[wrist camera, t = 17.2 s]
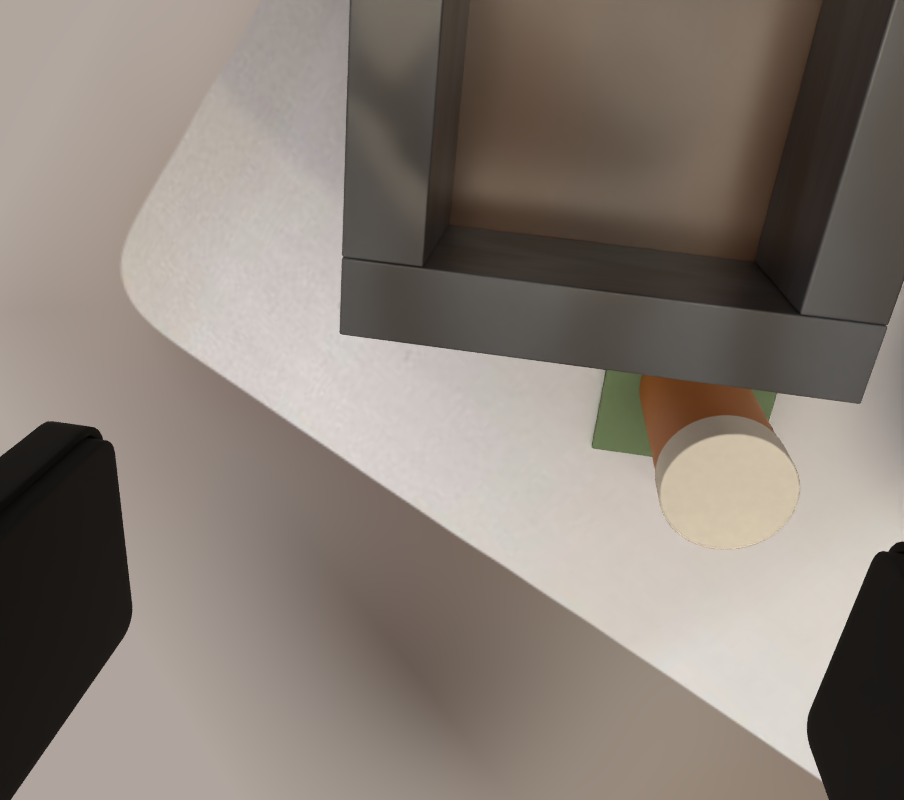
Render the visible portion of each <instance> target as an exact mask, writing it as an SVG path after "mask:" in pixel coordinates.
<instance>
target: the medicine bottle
mask: <svg viewBox="0 0 904 800" xmlns="http://www.w3.org/2000/svg"><path fill="white" fill-rule="evenodd" d="M639 394H640V401H641V405H642V410H643V415H644V420H645V424H646V429H647V434H648V439H649V444H650V448H651V453H652V458H653V463H654V467H655V481H656V487H657V492H658V497H659V502H660V506H661V509H662V513H663V515H664V517H665V519H666V520H667V522H668V523H669V525H670V526H671V527H672V528H673V529H674V530H675V531H676V532H677V533H678V534H680V535H681V536H682V537H684V538H685V539H687V540H689V541H691V542H693V543H695V544H697V545H701V546H704V547H708V548H713V549H738V548H743V547H748V546H751V545H754V544H757V543H759V542H761V541H763V540H765V539H767V538H769V537H770V536H772V535H773V534H775V533H776V532H777V531H778V530H780V529H781V528H782V527H783V526H784V525H785V524H786V522H787V521H788V520H789V519H790V517H791V515H792V514H793V512H794V510H795V508H796V505H797V502H798V498H799V493H800V482H799V476H798V472H797V470H796V468H795V465H794V464H793V462H792V460H791V458H790V456H789V454H788V452H787V451H786V449H785V447H784V445H783V444H782V442H781V440H780V439H779V438H778V437H777V436H776V434H775V433H774V431H773V429H772V427H771V425H770V423H769V422H768V420H767V418H766V416H765V414H764V412H763V410H762V408H761V406H760V405H759V403H758V401H757V399H756V397H755V395H754V393H753V391H752V390H751V389H745V388H738V387H730V386H723V385H715V384H708V383H700V382H693V381H685V380H678V379H670V378H663V377H656V376H648V375H642V378H641V381H640V387H639Z"/></svg>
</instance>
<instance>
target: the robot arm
mask: <svg viewBox="0 0 904 800" xmlns="http://www.w3.org/2000/svg"><path fill="white" fill-rule="evenodd" d="M131 617H132V600H131V590H130V582H129V573H128V565H127V555H126V547H125V538H124V529H123V520H122V511H121V502H120V493H119V485H118V476H117V467H116V459H115V451H114V447H113V445H112V444H111V443H110V442H109V441H106V440H103V438H102V435H101V433H100V432H99V430H98V429H96V428H94V427H89V426H81V425H75V424H68V423H61V422H53V421H52V422H46V423H44V424H42V425H40V426H39V427H38V428H36V429H35V430H34V431H33V432H31V433H30V434H29V435H28V436H26V437H25V438H24V439H23V440H21V441H20V442H19V443H17V444H16V445H15V446H14V447H12V448H11V449H10V450H8V451H7V452H6V453H5V454H3V455H2V456H1V457H0V800H11V799H12V797H13V795H14V794H15V793H16V791H17V790H18V788H19V787H20V786H21V784H22V783H23V781H24V780H25V778H26V777H27V776H28V774H29V773H30V771H31V770H32V768H33V767H34V766H35V764H36V762H37V761H38V760H39V758H40V757H41V755H42V754H43V752H44V751H45V749H46V748H47V747H48V745H49V744H50V743H51V741H52V740H53V738H54V737H55V735H56V734H57V732H58V731H59V729H60V728H61V727H62V725H63V724H64V722H65V721H66V719H67V718H68V717H69V715H70V714H71V712H72V711H73V709H74V708H75V707H76V705H77V703H78V702H79V701H80V699H81V698H82V696H83V695H84V694H85V692H86V691H87V689H88V688H89V686H90V685H91V683H92V682H93V681H94V679H95V678H96V676H97V675H98V673H99V672H100V671H101V669H102V668H103V666H104V665H105V663H106V662H107V661H108V659H109V658H110V656H111V655H112V653H113V652H114V651H115V649H116V647H117V646H118V645H119V643H120V642H121V640H122V639H123V637H124V636H125V634H126V632H127V630H128V627H129V624H130V621H131ZM807 735H808V741H809V745H810V748H811V751H812V754H813V757H814V759H815V762H816V765H817V768H818V770H819V773H820V776H821V779H822V782H823V784H824V787H825V789H826V793H827V796H828V798H829V800H904V542H899V543H896V544H895V545H894V546H892V547H891V548H890V550H889V552H885V551H882V552H879V553H878V554H877V555H875V557H874V558H873V560H872V562H871V565H870V567H869V569H868V572H867V574H866V577H865V579H864V581H863V584H862V586H861V589H860V591H859V593H858V596H857V598H856V601H855V603H854V605H853V608H852V610H851V613H850V615H849V618H848V620H847V622H846V625H845V627H844V630H843V632H842V634H841V637H840V639H839V642H838V644H837V646H836V649H835V651H834V654H833V656H832V659H831V661H830V663H829V666H828V668H827V671H826V673H825V675H824V678H823V680H822V683H821V685H820V687H819V690H818V692H817V695H816V697H815V699H814V702H813V704H812V707H811V709H810V712H809V715H808V721H807Z"/></svg>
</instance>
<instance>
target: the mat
mask: <svg viewBox="0 0 904 800" xmlns="http://www.w3.org/2000/svg"><path fill="white" fill-rule="evenodd" d="M641 378H642V375H641V374H633V373H626V372H618V371H611V370H606V374H605V380H604V385H603V390H602V395H601V400H600V406H599V411H598V416H597V421H596V426H595V432H594V437H593V442H592V448H595V449H602V450H609V451H616V452H623V453H630V454H637V455H644V456H651V457H652V453H651V448H650V444H649V439H648V434H647V429H646V424H645V420H644V415H643V410H642V405H641V401H640V394H639V387H640V381H641ZM751 390H752V389H751ZM752 391H753V393H754V395H755V397H756V399H757V401H758V403H759V405H760V406H761V408H762V410H763V412H764V414H765V416H766V418H767V420H768V421H769V418H770V414H771V411H772V408H773V404H774V401H775V398H776V394H777V393H775V392H767V391H760V390H752Z"/></svg>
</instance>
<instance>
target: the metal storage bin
mask: <svg viewBox="0 0 904 800" xmlns="http://www.w3.org/2000/svg"><path fill="white" fill-rule="evenodd" d="M342 256H343V258H342V275H341V307H340V334H343V335H350V336H357V337H365V338H372V339H380V340H387V341H395V342H402V343H410V344H417V345H425V346H432V347H439V348H447V349H454V350H462V351H469V352H477V353H484V354H492V355H499V356H507V357H514V358H521V359H529V360H536V361H544V362H551V363H559V364H566V365H574V366H581V367H588V368H596V369H603V370H611V371H618V372H626V373H633V374H641V375H648V376H656V377H663V378H670V379H678V380H685V381H693V382H700V383H708V384H715V385H723V386H730V387H738V388H745V389H752V390H760V391H767V392H775V393H782V394H790V395H797V396H805V397H812V398H820V399H827V400H834V401H842V402H849V403H857V404H860V403H861V401H862V398H863V395H864V392H865V389H866V386H867V384H868V381H869V378H870V375H871V372H872V369H873V367H874V364H875V361H876V358H877V355H878V352H879V350H880V347H881V344H882V341H883V338H884V335H885V333H886V330H887V326H886V325H888V323H889V321H890V318H891V315H892V312H893V309H894V307H895V304H896V301H897V298H898V295H899V292H900V290H901V287H902V284H903V281H904V0H350V15H349V47H348V80H347V112H346V144H345V177H344V209H343V241H342Z"/></svg>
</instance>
